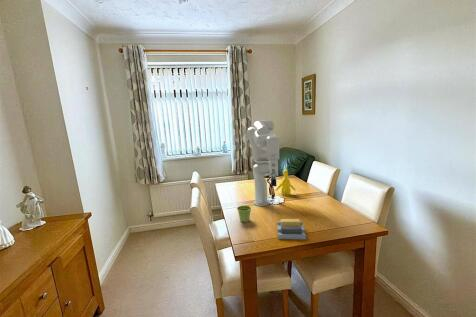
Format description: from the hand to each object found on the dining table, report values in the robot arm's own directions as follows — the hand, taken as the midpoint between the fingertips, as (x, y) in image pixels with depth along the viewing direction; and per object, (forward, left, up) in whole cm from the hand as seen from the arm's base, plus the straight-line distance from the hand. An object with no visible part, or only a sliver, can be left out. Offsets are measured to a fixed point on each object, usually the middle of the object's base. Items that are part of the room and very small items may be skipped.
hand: (273, 183), depth 143 cm
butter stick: (+7, +9, -25) cm, 28 cm away
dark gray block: (+16, +9, -25) cm, 31 cm away
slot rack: (+12, +9, -26) cm, 30 cm away
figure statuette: (-53, +11, -26) cm, 60 cm away
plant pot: (-3, -19, -26) cm, 33 cm away
